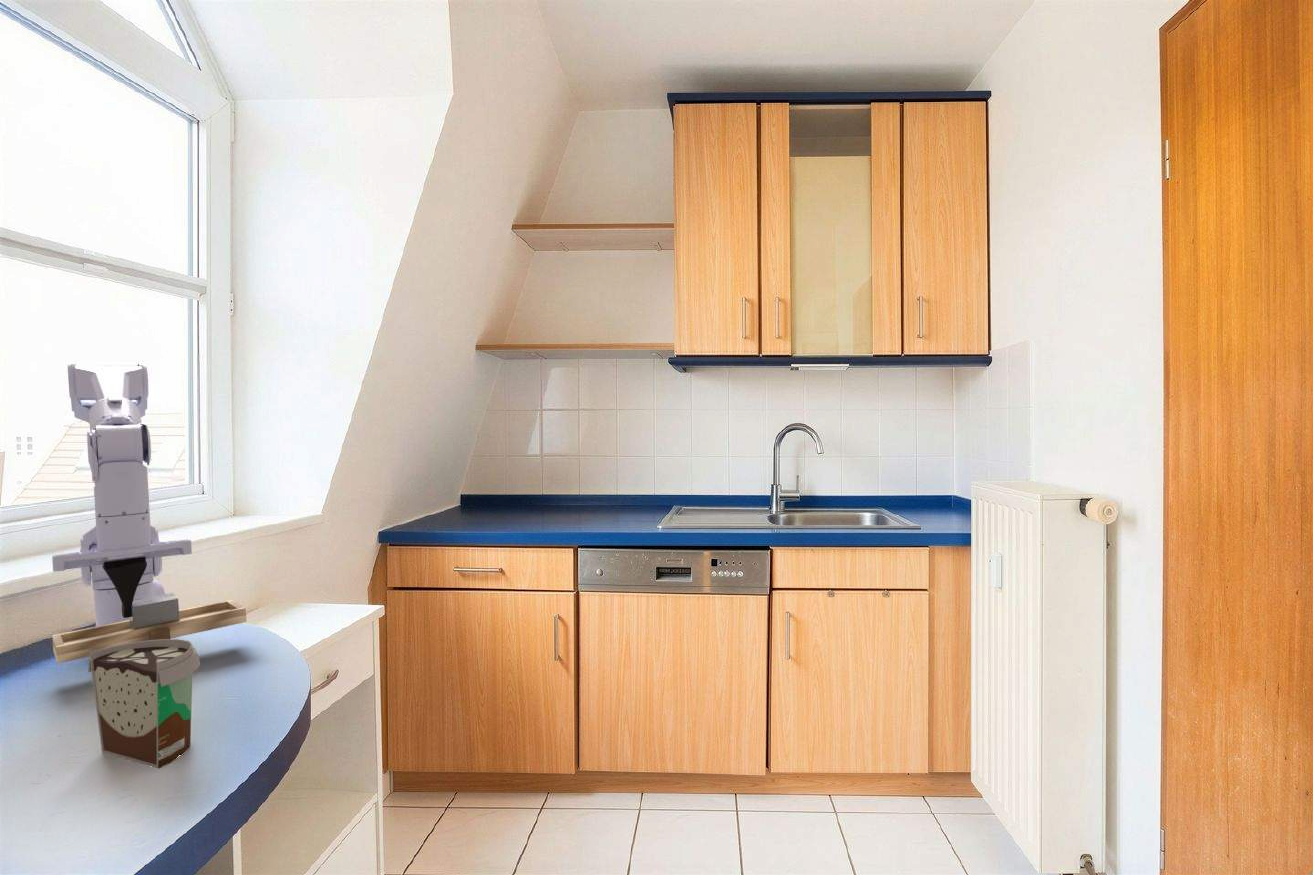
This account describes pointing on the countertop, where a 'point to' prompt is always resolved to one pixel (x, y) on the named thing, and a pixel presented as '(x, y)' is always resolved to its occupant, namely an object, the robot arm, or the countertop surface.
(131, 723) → the food container
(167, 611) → the block
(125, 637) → the beam
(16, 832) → the countertop surface
